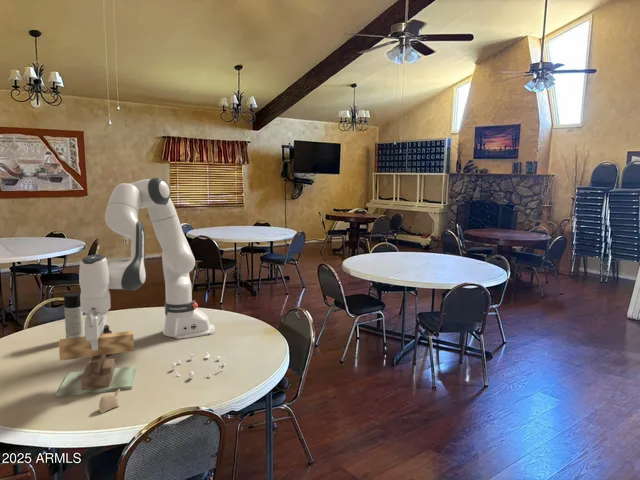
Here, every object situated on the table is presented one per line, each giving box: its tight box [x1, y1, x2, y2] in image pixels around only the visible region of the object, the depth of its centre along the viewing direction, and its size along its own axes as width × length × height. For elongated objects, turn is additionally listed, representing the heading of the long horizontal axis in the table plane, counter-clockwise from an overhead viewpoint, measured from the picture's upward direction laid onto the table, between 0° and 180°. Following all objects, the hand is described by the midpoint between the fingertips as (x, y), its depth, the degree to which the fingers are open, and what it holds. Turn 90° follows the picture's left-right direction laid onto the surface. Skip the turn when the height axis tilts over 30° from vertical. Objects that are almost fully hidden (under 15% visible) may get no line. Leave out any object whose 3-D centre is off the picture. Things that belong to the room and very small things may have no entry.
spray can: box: [63, 292, 85, 339], centre depth 184 cm, size 7×7×20 cm
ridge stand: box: [55, 355, 137, 398], centre depth 148 cm, size 22×16×10 cm
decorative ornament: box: [98, 389, 121, 414], centre depth 133 cm, size 3×7×4 cm, turn 142°
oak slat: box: [58, 330, 135, 362], centre depth 147 cm, size 22×4×6 cm, turn 116°
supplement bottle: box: [103, 324, 113, 357], centre depth 171 cm, size 6×6×11 cm
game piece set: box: [171, 352, 226, 380], centre depth 161 cm, size 19×20×4 cm
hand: (97, 344), depth 147 cm, fingers open, 8 cm apart
